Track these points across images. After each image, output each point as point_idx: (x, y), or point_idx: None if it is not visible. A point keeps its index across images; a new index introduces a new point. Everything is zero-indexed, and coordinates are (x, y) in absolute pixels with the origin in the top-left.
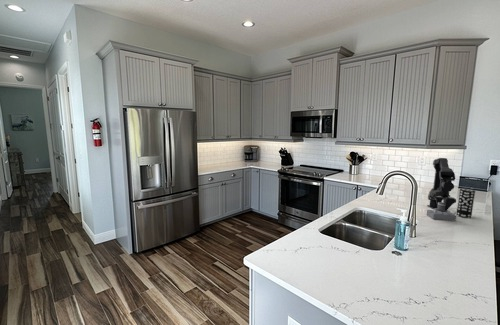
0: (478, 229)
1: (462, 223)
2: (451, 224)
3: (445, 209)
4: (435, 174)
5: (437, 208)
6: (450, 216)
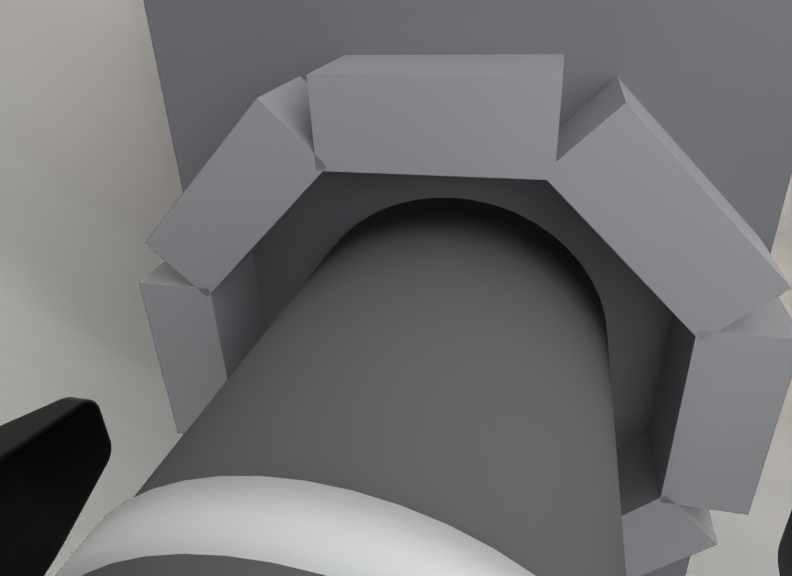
0: None
1: None
2: (26, 225)
3: (7, 434)
4: None
5: (449, 284)
6: None
